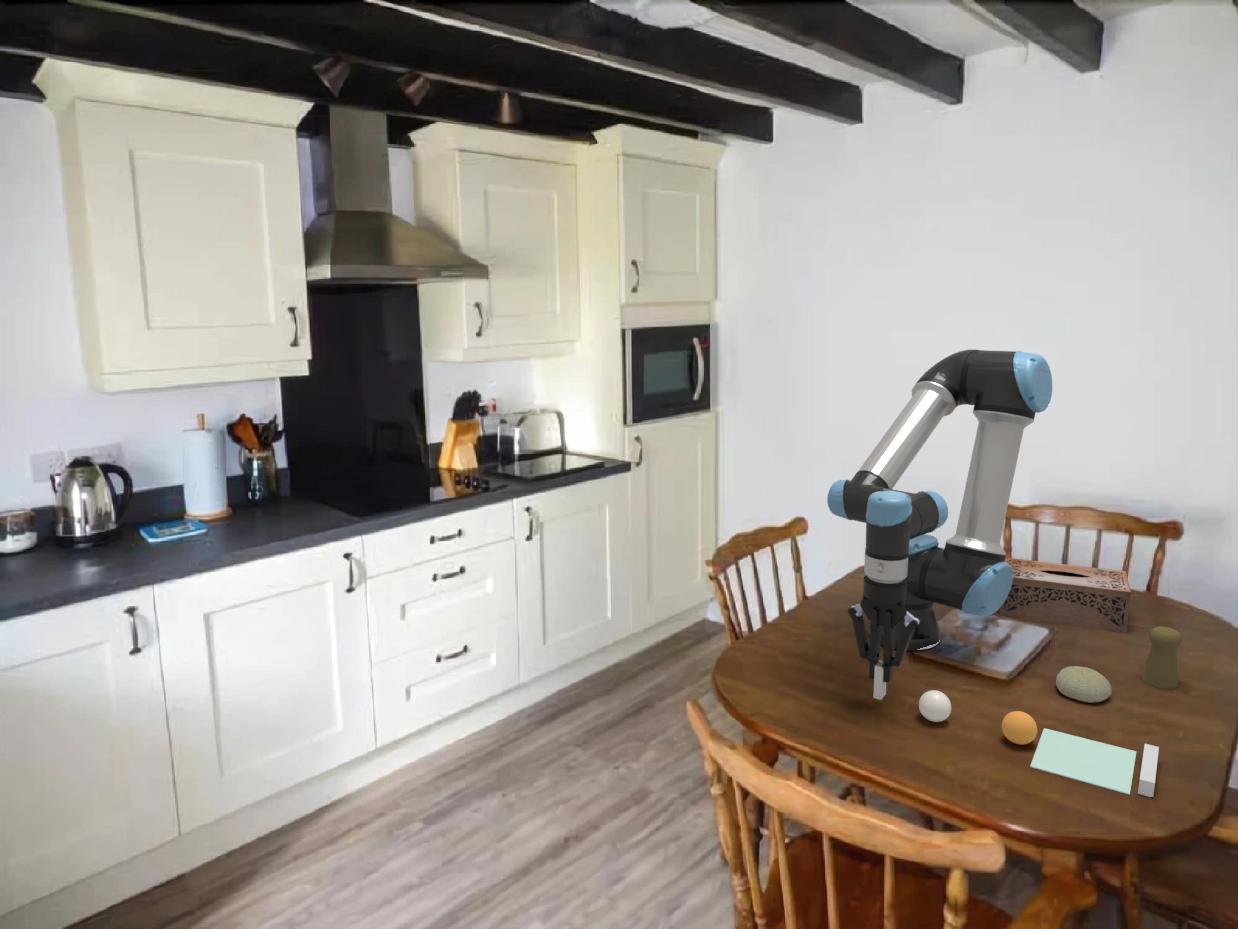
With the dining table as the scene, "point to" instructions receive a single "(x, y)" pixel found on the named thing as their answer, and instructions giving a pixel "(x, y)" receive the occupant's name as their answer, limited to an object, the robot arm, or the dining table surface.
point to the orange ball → (1019, 727)
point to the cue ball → (935, 706)
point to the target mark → (1085, 760)
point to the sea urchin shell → (1083, 684)
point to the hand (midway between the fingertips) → (879, 695)
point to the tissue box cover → (1068, 595)
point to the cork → (1162, 658)
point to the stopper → (1148, 770)
